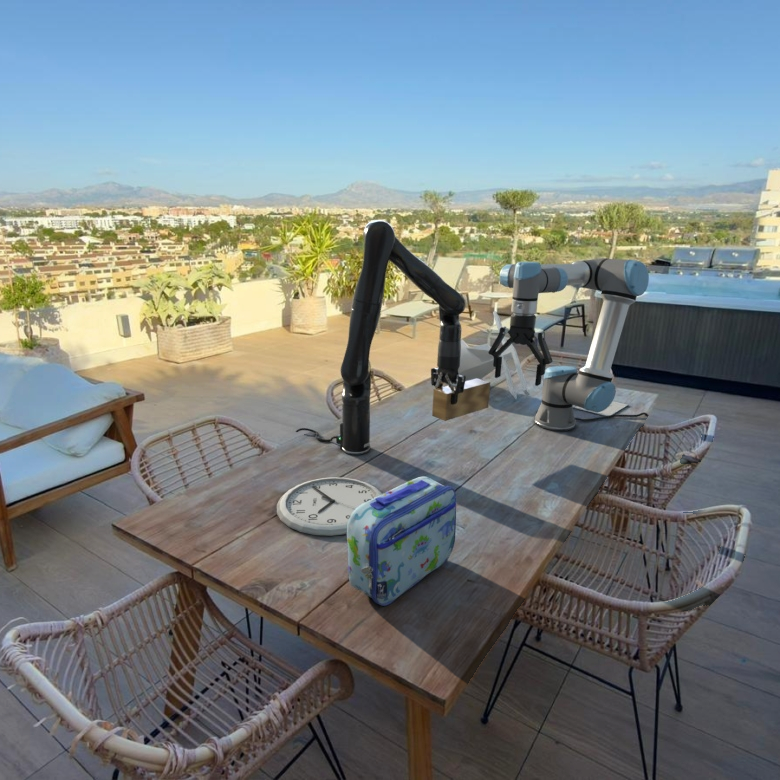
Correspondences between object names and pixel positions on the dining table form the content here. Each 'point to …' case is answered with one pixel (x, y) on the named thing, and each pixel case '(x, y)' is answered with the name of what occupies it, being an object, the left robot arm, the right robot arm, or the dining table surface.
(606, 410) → the invitation card
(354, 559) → the lunch box
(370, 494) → the wall clock
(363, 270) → the left robot arm
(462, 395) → the box
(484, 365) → the white plastic object
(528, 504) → the dining table surface
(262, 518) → the dining table surface
